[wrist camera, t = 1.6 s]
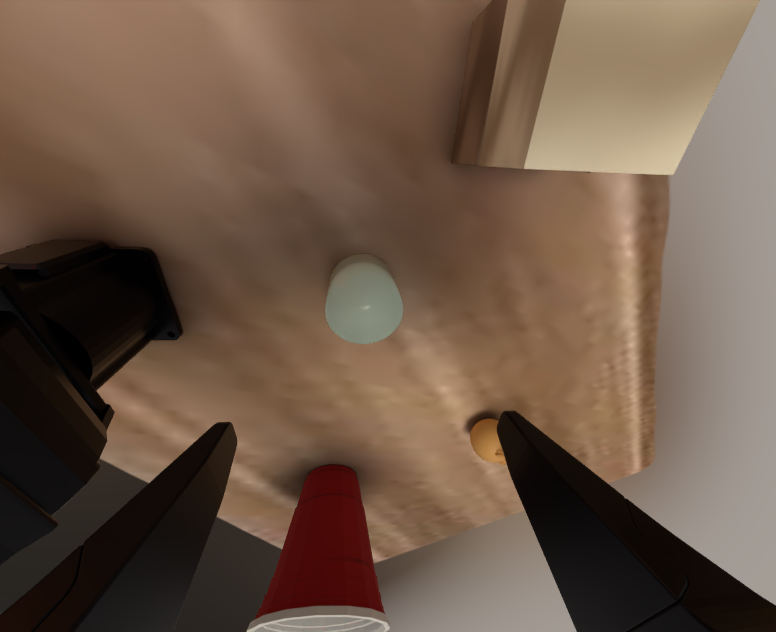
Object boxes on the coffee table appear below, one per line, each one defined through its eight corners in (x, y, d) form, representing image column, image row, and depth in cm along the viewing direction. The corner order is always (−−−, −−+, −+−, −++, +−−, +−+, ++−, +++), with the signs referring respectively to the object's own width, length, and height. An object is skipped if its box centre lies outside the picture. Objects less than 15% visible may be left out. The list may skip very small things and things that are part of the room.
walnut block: (542, 169, 17) (590, 172, 14) (450, 163, 16) (476, 164, 13) (581, 39, 14) (655, 1, 11) (471, 23, 13) (512, -22, 10)
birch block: (592, 170, 14) (673, 175, 10) (478, 165, 13) (523, 168, 10) (655, -3, 11) (799, -79, 7) (511, -21, 10) (594, -114, 7)
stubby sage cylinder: (391, 313, 21) (399, 343, 18) (330, 312, 20) (326, 344, 17) (397, 255, 19) (407, 276, 15) (328, 252, 18) (323, 274, 15)
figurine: (453, 407, 27) (515, 560, 17) (511, 383, 26) (613, 528, 16) (476, 450, 31) (537, 594, 21) (526, 430, 30) (615, 570, 20)
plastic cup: (258, 485, 30) (210, 657, 20) (328, 436, 27) (313, 606, 17) (332, 514, 35) (323, 665, 24) (397, 475, 32) (418, 626, 22)
